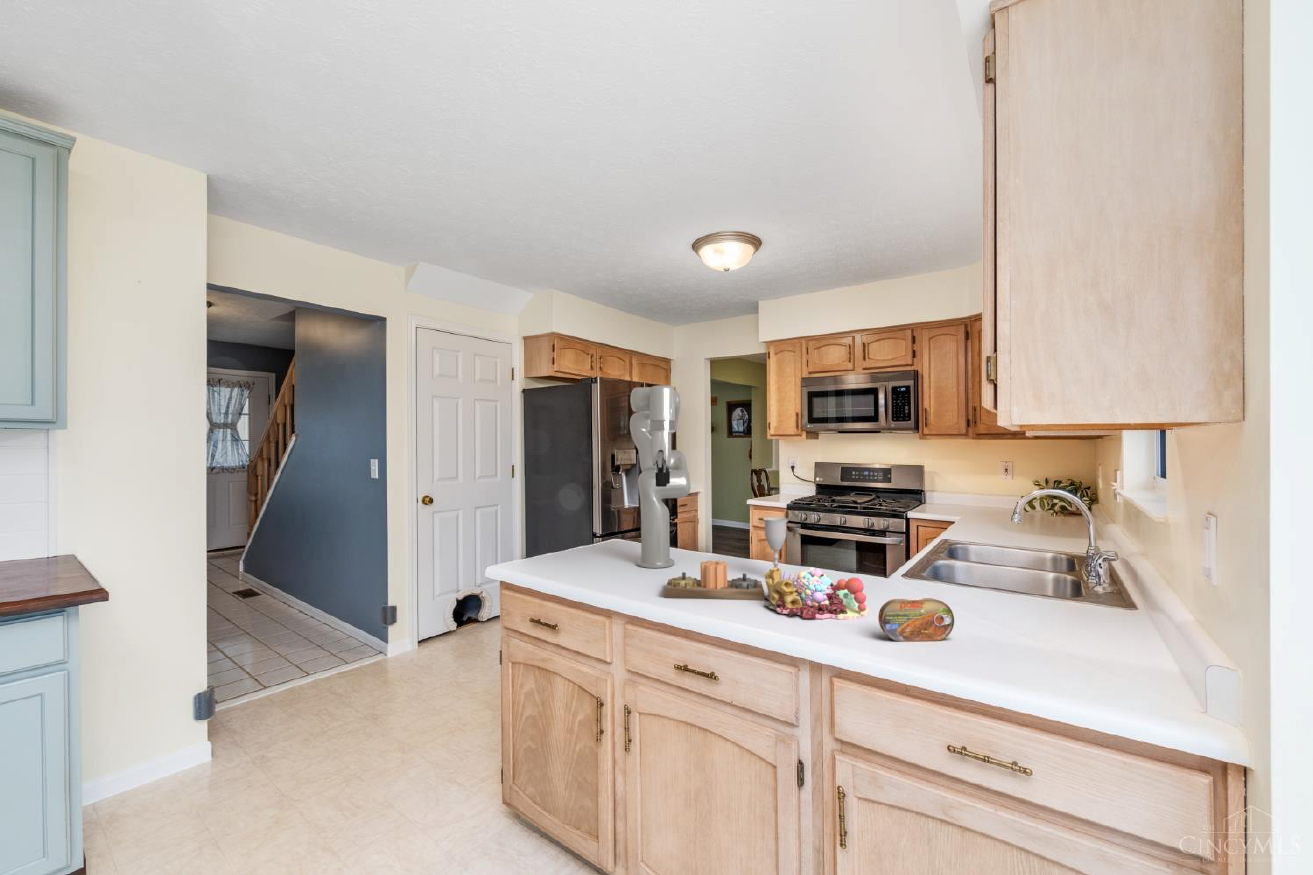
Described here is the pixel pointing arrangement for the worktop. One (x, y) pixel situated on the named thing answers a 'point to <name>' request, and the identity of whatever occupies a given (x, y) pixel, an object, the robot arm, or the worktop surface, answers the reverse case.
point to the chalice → (775, 535)
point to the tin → (916, 619)
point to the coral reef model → (815, 595)
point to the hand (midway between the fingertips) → (662, 485)
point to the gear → (714, 574)
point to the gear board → (714, 589)
